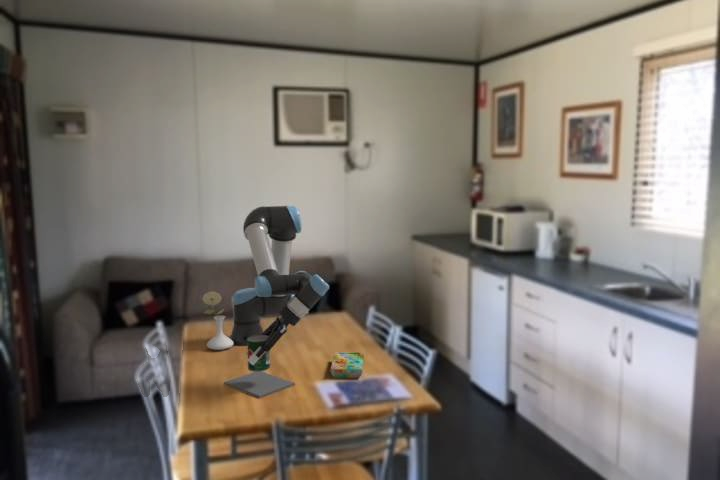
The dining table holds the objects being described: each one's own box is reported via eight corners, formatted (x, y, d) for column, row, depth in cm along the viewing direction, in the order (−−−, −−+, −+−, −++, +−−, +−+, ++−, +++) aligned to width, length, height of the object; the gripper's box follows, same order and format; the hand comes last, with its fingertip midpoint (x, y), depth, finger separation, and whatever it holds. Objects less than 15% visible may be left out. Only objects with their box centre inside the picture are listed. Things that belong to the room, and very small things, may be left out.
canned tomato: (248, 372, 202) (247, 341, 201) (247, 365, 210) (246, 335, 209) (271, 370, 204) (270, 340, 203) (269, 363, 212) (269, 334, 210)
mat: (223, 384, 208) (223, 382, 208) (258, 372, 220) (258, 370, 220) (260, 398, 195) (260, 395, 195) (294, 384, 207) (294, 382, 207)
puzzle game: (330, 366, 214) (334, 350, 233) (330, 379, 214) (334, 361, 234) (362, 367, 213) (363, 350, 233) (362, 379, 214) (363, 361, 234)
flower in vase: (237, 344, 257) (235, 288, 254) (228, 352, 246) (227, 294, 243) (208, 343, 258) (206, 288, 255) (199, 351, 247) (196, 293, 244)
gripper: (305, 325, 199) (259, 375, 197) (297, 311, 219) (254, 356, 217) (290, 311, 197) (243, 361, 195) (282, 298, 217) (240, 344, 215)
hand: (249, 358), depth 206 cm, fingers closed on canned tomato, 8 cm apart
